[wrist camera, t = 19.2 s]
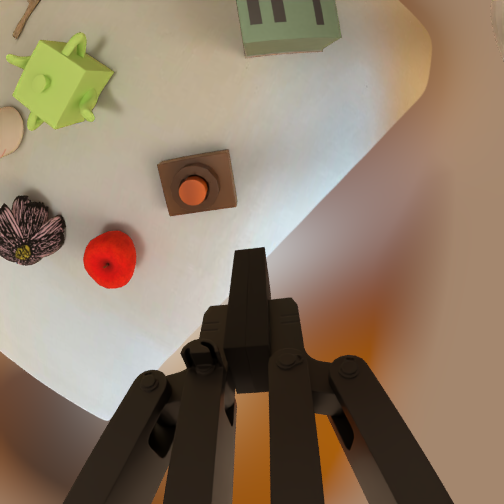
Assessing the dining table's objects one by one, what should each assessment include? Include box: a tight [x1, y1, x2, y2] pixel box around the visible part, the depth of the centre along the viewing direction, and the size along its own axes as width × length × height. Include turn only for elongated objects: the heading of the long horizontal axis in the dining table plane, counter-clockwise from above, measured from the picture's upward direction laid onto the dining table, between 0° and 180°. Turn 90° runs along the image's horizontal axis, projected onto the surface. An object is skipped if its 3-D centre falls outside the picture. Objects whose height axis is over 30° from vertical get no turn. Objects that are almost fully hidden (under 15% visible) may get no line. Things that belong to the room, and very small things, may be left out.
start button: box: [179, 176, 208, 205], centre depth 39 cm, size 4×4×2 cm
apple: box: [83, 231, 136, 289], centre depth 45 cm, size 9×9×8 cm
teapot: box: [6, 32, 114, 131], centre depth 30 cm, size 15×13×11 cm
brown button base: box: [157, 150, 237, 216], centre depth 42 cm, size 10×8×4 cm
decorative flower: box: [0, 196, 66, 266], centre depth 43 cm, size 15×12×15 cm
